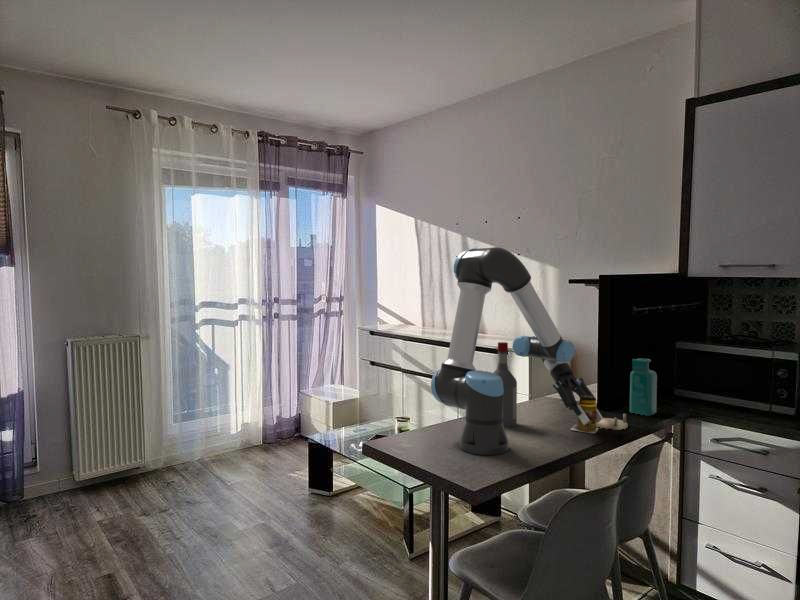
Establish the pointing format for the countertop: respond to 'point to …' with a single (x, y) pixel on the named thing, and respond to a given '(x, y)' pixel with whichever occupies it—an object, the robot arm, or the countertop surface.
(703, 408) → the countertop surface
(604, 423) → the flange base
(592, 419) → the condiment
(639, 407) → the teal bottle
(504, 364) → the liquor
